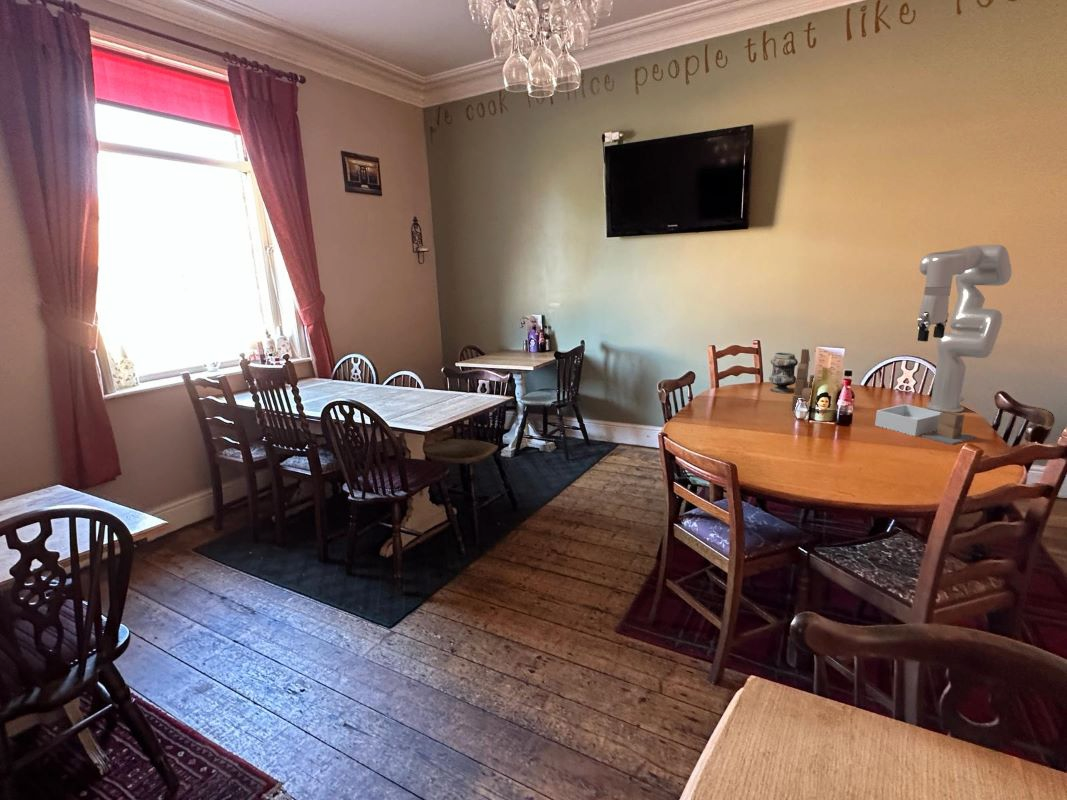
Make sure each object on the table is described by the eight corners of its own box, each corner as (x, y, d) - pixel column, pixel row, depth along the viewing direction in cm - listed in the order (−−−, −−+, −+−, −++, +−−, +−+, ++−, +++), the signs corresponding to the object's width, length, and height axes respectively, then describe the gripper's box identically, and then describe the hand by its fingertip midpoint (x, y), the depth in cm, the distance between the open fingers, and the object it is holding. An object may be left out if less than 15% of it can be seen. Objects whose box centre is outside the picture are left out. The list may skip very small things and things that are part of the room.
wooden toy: (809, 412, 224) (815, 352, 217) (791, 410, 227) (796, 351, 221) (815, 403, 236) (821, 347, 229) (799, 402, 239) (804, 346, 233)
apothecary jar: (799, 389, 260) (802, 352, 255) (790, 395, 251) (793, 356, 247) (773, 386, 268) (776, 350, 263) (763, 391, 259) (766, 354, 255)
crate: (902, 418, 211) (905, 404, 210) (943, 428, 198) (946, 413, 197) (874, 425, 205) (876, 410, 203) (914, 436, 192) (917, 420, 190)
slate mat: (944, 430, 197) (945, 428, 197) (976, 438, 188) (976, 436, 188) (920, 436, 191) (921, 435, 191) (951, 444, 182) (952, 443, 182)
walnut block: (945, 432, 193) (948, 411, 191) (960, 436, 188) (964, 414, 186) (936, 434, 191) (940, 413, 189) (952, 438, 186) (955, 416, 184)
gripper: (939, 289, 199) (932, 335, 204) (911, 293, 192) (905, 341, 197) (962, 289, 193) (955, 337, 198) (934, 294, 186) (927, 343, 190)
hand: (930, 339), depth 197 cm, fingers open, 9 cm apart
